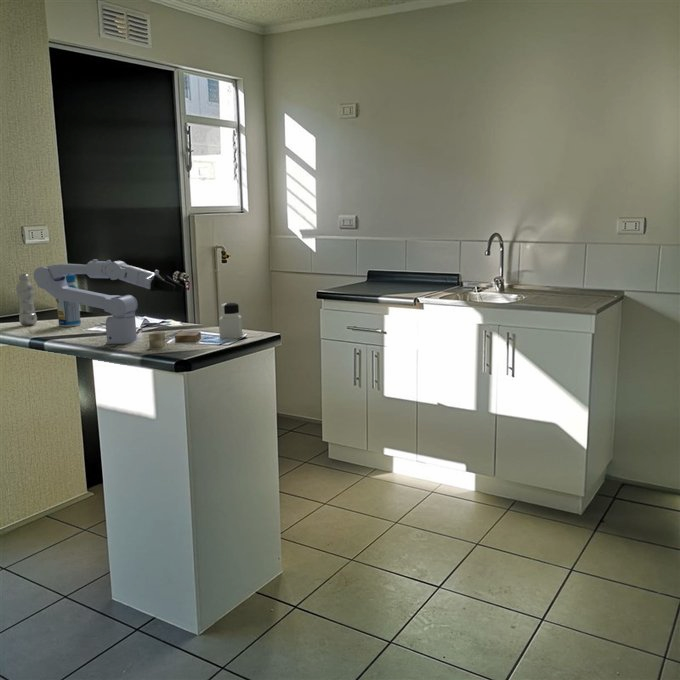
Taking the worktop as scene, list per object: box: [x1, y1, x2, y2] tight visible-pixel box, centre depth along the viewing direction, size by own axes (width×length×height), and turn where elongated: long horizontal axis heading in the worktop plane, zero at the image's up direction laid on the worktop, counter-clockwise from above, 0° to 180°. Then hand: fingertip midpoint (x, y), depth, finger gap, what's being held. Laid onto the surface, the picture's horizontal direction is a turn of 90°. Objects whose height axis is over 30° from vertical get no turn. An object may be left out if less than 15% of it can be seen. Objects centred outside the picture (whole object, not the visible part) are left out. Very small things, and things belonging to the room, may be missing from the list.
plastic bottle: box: [15, 273, 38, 327], centre depth 281 cm, size 6×7×20 cm
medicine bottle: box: [218, 302, 243, 339], centre depth 250 cm, size 7×7×12 cm
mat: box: [167, 336, 206, 345], centre depth 243 cm, size 10×12×1 cm
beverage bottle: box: [55, 274, 82, 328], centre depth 279 cm, size 8×8×20 cm
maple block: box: [148, 331, 166, 348], centre depth 235 cm, size 4×4×5 cm
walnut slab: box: [174, 331, 202, 343], centre depth 243 cm, size 7×7×2 cm
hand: (178, 289), depth 239 cm, fingers open, 7 cm apart
